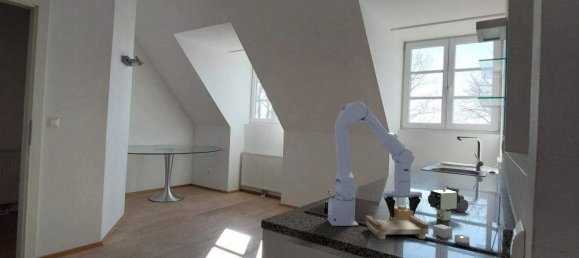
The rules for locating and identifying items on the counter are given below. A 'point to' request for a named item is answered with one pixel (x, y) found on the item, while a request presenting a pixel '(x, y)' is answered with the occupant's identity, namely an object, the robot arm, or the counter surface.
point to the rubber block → (442, 231)
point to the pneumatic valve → (443, 202)
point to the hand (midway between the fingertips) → (401, 216)
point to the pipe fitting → (463, 203)
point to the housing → (401, 213)
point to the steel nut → (462, 240)
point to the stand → (397, 227)
